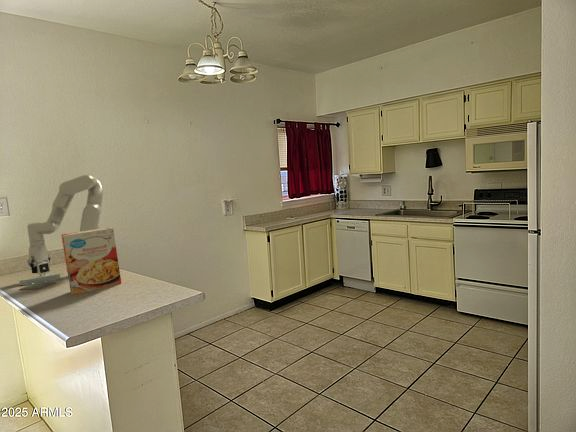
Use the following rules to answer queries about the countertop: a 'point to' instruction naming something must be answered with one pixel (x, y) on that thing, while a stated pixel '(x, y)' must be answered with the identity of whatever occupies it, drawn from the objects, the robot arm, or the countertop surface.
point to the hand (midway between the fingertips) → (41, 271)
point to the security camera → (43, 268)
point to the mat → (37, 285)
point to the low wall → (40, 279)
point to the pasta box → (91, 260)
